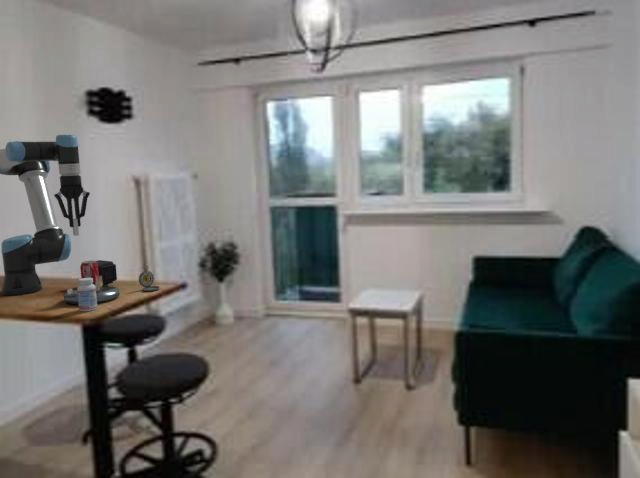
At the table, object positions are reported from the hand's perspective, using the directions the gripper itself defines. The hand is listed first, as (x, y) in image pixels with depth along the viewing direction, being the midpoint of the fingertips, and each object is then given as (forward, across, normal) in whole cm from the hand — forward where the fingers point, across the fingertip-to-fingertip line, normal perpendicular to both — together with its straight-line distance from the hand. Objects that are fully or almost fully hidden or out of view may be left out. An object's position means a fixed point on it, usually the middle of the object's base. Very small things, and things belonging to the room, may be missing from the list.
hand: (76, 235), depth 220 cm
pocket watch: (+25, +24, -10) cm, 36 cm away
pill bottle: (+25, -4, -26) cm, 36 cm away
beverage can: (+22, +1, -10) cm, 24 cm away
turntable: (+24, +2, -9) cm, 25 cm away
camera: (+25, +11, +13) cm, 30 cm away
